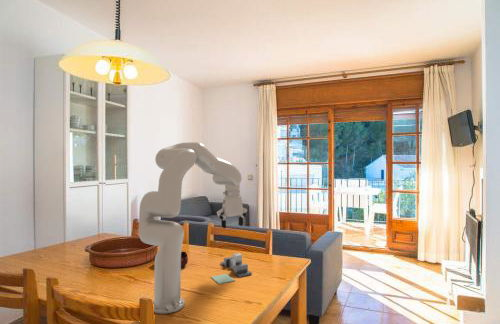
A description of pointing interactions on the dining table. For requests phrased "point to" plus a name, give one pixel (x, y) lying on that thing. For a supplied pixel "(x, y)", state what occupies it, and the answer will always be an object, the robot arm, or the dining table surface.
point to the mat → (222, 278)
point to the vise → (237, 268)
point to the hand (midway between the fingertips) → (232, 226)
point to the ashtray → (183, 258)
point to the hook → (235, 260)
